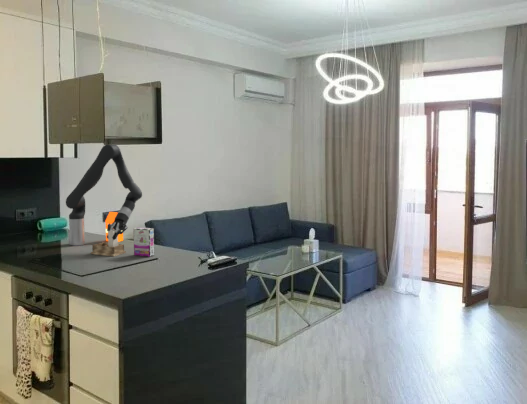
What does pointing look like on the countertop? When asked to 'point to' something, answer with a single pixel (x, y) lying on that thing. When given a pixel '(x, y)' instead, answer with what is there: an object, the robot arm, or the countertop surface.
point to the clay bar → (110, 240)
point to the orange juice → (110, 220)
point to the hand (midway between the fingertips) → (110, 238)
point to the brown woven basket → (108, 249)
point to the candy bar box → (144, 242)
